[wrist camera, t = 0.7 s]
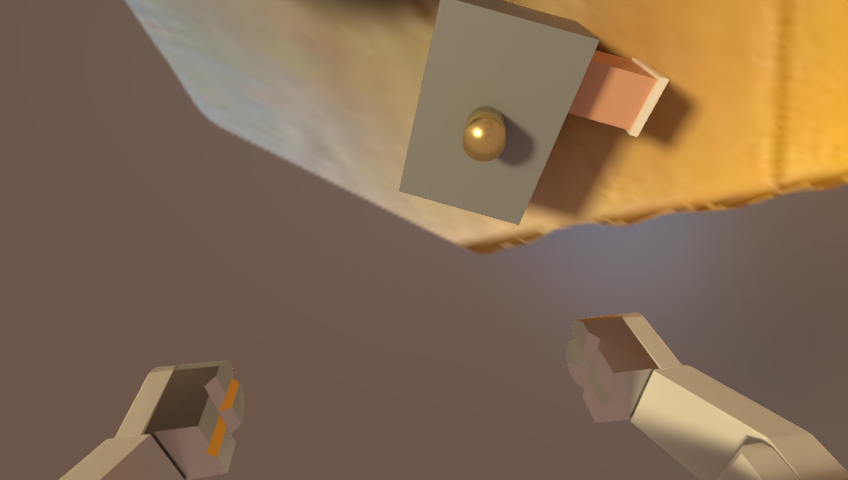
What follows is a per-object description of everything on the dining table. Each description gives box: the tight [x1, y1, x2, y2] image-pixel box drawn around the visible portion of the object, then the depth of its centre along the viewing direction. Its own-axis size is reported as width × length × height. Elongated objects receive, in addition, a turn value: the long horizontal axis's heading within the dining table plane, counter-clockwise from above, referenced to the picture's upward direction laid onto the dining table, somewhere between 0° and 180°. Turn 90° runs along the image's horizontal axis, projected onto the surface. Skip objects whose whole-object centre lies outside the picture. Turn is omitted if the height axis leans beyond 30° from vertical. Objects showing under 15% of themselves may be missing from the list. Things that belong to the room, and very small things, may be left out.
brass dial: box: [462, 106, 506, 162], centre depth 36 cm, size 4×4×4 cm
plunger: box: [568, 50, 670, 137], centre depth 41 cm, size 12×5×9 cm, turn 77°
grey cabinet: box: [399, 0, 600, 225], centre depth 43 cm, size 13×18×13 cm
